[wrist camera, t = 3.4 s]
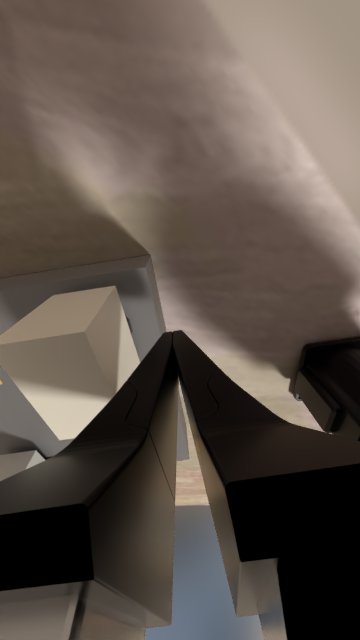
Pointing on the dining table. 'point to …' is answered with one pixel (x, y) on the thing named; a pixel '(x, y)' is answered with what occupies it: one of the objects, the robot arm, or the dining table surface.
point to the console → (35, 288)
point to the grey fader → (18, 462)
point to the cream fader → (70, 357)
